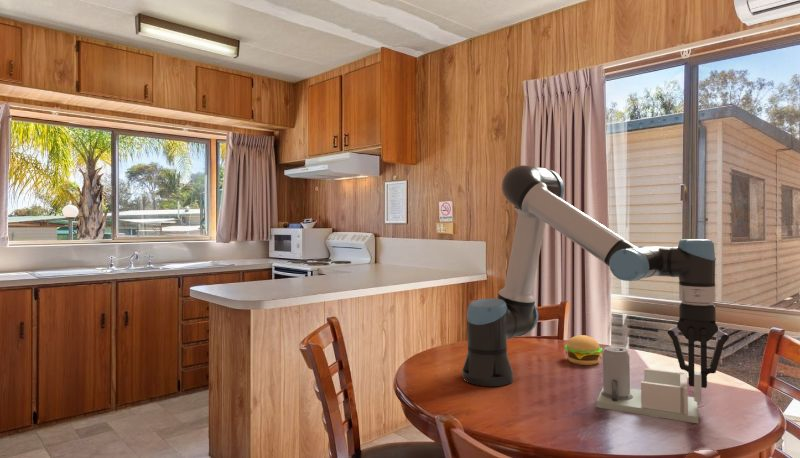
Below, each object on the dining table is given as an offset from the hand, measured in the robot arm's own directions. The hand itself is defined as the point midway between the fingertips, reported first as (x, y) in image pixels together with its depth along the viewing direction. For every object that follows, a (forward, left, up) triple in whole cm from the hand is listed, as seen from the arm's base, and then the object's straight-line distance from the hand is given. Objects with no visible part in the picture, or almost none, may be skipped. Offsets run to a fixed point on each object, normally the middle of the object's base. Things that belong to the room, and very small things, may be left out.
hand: (697, 399), depth 119 cm
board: (-11, 0, -3) cm, 12 cm away
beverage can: (-18, 0, -2) cm, 18 cm away
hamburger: (-32, +35, -4) cm, 48 cm away
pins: (-18, 0, -2) cm, 18 cm away
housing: (-7, 0, -2) cm, 7 cm away
